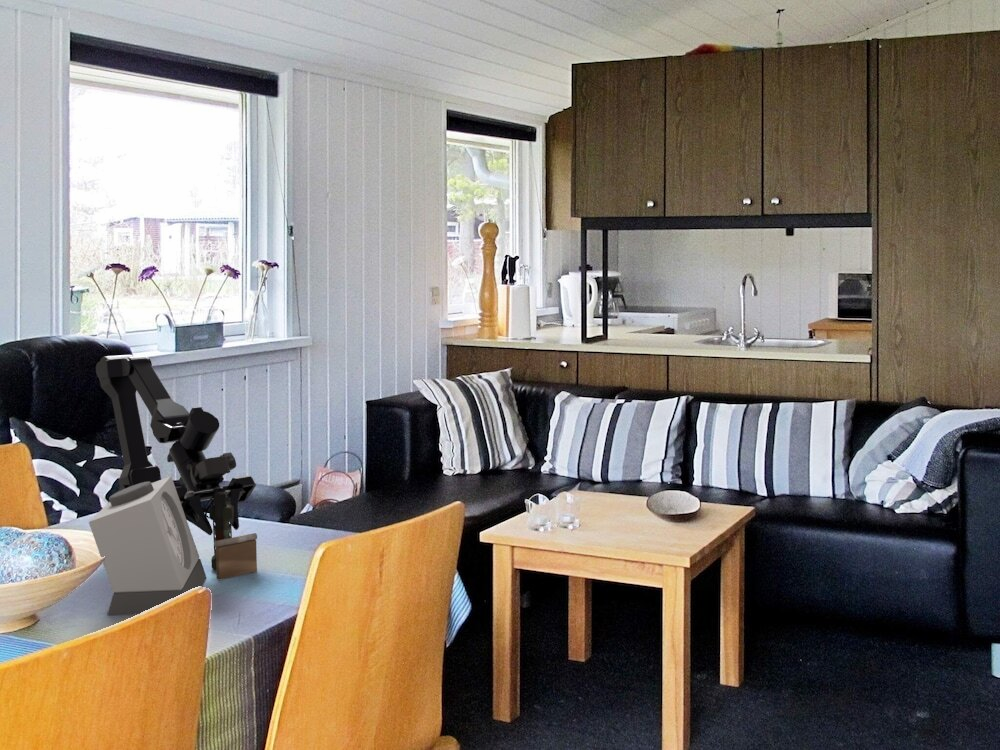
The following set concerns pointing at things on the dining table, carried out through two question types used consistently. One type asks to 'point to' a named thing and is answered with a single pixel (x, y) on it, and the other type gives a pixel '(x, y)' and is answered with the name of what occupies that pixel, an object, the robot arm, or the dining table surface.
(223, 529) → the grenade
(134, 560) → the alarm clock
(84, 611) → the dining table surface
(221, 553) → the wooden panel
